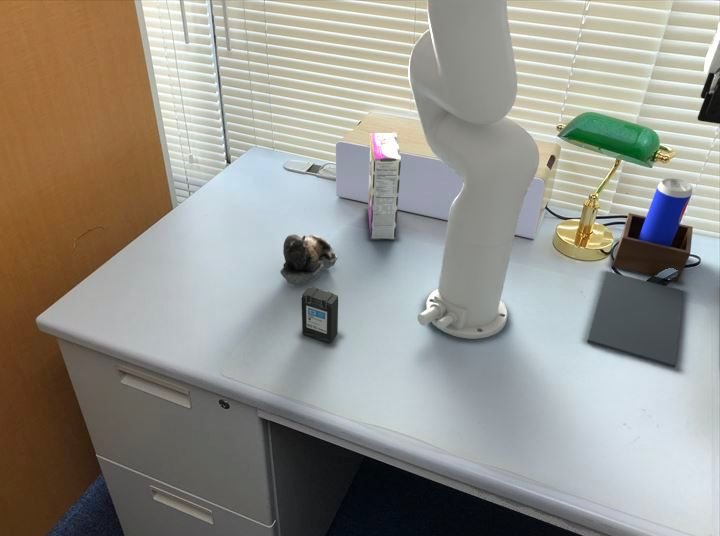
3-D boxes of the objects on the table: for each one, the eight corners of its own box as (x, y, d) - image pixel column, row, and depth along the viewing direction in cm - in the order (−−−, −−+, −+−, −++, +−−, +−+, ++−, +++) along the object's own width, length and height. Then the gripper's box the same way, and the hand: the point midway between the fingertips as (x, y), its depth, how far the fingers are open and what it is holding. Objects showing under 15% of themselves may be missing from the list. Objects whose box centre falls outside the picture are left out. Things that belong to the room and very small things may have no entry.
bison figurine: (309, 253, 113) (308, 203, 107) (344, 263, 110) (345, 213, 104) (274, 288, 105) (271, 236, 99) (311, 300, 102) (310, 248, 96)
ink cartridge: (301, 335, 95) (300, 293, 90) (308, 326, 97) (308, 285, 92) (330, 345, 93) (331, 303, 89) (337, 336, 95) (338, 294, 90)
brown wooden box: (677, 283, 106) (690, 253, 102) (612, 266, 110) (622, 237, 106) (680, 255, 112) (693, 226, 109) (619, 241, 116) (628, 212, 112)
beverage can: (665, 271, 109) (698, 193, 99) (634, 267, 109) (663, 190, 100) (659, 254, 113) (689, 178, 103) (628, 251, 113) (656, 176, 104)
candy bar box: (366, 210, 125) (370, 131, 115) (391, 210, 125) (397, 132, 115) (368, 240, 116) (373, 158, 106) (395, 240, 116) (402, 158, 106)
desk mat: (674, 367, 90) (675, 365, 89) (586, 342, 94) (587, 339, 94) (682, 292, 104) (683, 290, 103) (605, 273, 108) (606, 271, 108)
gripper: (727, -32, 90) (686, 87, 100) (725, -6, 78) (678, 126, 88) (788, -27, 87) (739, 95, 98) (796, 0, 75) (738, 136, 86)
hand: (710, 109), depth 93 cm, fingers open, 9 cm apart
